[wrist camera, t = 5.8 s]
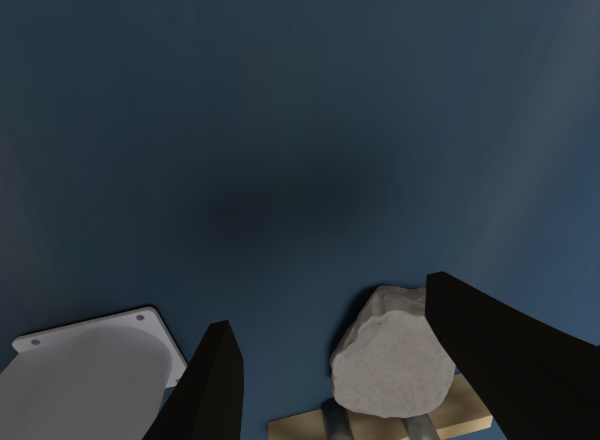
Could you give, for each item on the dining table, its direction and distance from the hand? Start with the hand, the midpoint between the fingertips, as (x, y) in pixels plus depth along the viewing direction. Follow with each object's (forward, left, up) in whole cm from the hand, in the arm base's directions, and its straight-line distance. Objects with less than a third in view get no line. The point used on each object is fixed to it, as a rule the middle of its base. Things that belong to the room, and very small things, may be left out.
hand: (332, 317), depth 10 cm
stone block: (+5, -13, -9) cm, 17 cm away
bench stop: (+3, -22, -9) cm, 24 cm away
